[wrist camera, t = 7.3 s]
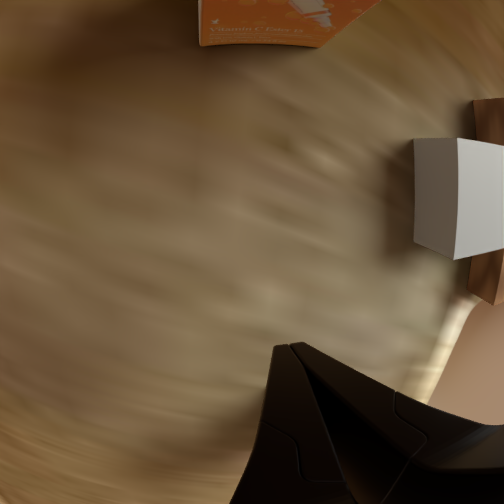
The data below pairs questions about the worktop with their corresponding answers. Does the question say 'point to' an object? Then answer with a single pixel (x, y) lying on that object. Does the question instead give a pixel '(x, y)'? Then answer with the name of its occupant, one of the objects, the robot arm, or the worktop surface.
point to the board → (499, 261)
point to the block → (459, 196)
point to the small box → (276, 20)
